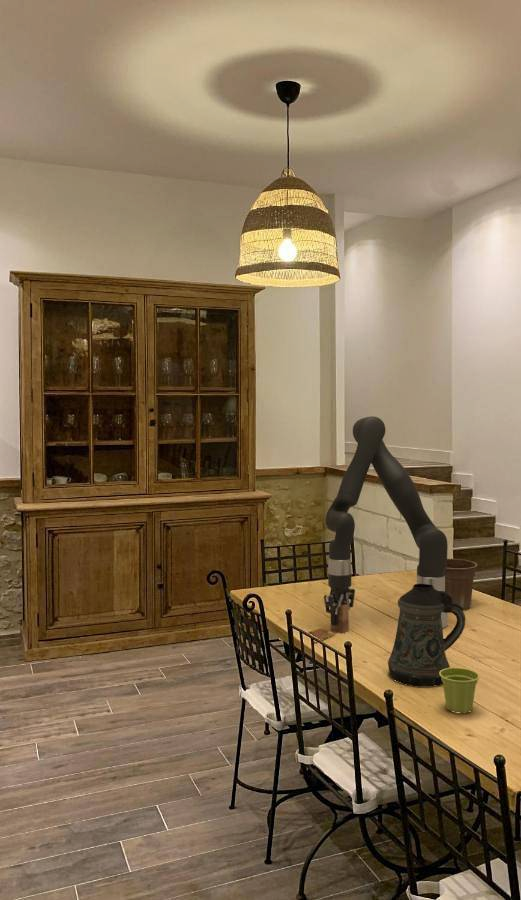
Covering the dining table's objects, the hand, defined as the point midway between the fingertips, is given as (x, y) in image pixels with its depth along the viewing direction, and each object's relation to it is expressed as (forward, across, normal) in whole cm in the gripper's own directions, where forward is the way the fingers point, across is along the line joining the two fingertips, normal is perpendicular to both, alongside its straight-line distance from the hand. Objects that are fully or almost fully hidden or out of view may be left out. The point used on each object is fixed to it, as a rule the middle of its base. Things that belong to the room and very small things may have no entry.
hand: (339, 623), depth 241 cm
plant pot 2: (+3, -31, -59) cm, 67 cm away
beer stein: (+3, -17, -41) cm, 44 cm away
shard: (+3, -9, 0) cm, 10 cm away
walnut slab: (+3, 0, 0) cm, 3 cm away
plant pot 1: (+3, +52, -13) cm, 54 cm away
